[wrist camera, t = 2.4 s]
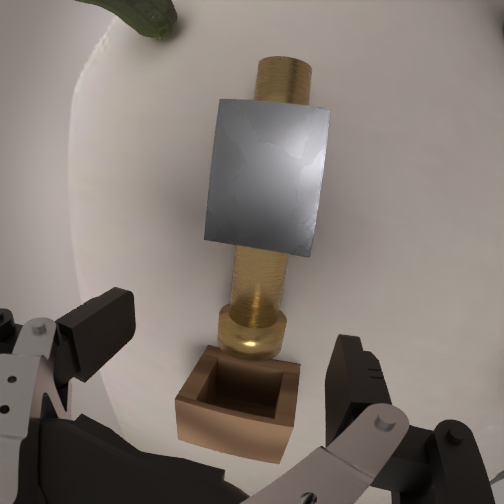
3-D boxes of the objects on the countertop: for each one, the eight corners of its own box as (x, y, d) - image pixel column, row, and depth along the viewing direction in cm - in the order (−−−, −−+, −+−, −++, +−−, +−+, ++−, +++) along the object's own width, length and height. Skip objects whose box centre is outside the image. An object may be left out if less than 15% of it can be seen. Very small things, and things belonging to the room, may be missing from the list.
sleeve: (248, 123, 18) (219, 99, 12) (323, 132, 18) (330, 109, 11) (236, 220, 20) (204, 239, 14) (309, 232, 20) (309, 257, 13)
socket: (208, 345, 24) (174, 399, 17) (300, 364, 22) (293, 427, 15) (206, 386, 25) (178, 439, 18) (289, 404, 24) (279, 464, 17)
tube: (255, 76, 16) (240, 50, 12) (321, 82, 15) (324, 56, 11) (227, 320, 20) (208, 352, 16) (284, 332, 20) (277, 367, 16)
